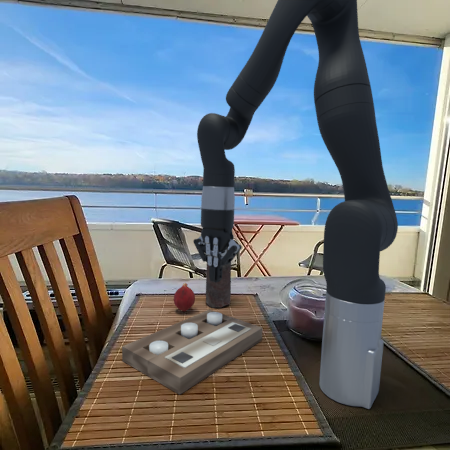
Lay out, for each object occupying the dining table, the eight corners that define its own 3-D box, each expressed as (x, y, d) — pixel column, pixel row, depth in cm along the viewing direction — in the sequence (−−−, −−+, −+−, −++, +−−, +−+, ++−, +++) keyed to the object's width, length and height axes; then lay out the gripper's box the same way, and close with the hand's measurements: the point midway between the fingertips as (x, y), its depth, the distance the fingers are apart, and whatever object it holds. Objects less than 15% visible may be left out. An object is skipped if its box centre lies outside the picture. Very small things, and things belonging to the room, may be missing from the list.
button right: (225, 324, 78) (225, 314, 78) (215, 329, 75) (215, 319, 75) (213, 320, 80) (213, 310, 80) (203, 325, 77) (203, 314, 77)
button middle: (200, 336, 71) (201, 325, 71) (189, 342, 68) (189, 331, 68) (189, 331, 73) (189, 321, 73) (177, 337, 71) (177, 326, 70)
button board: (261, 340, 75) (262, 326, 75) (179, 394, 55) (180, 376, 54) (208, 320, 85) (209, 308, 84) (122, 360, 64) (122, 344, 64)
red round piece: (190, 316, 87) (191, 287, 86) (170, 314, 88) (170, 285, 87) (197, 309, 92) (197, 281, 91) (177, 306, 94) (178, 279, 93)
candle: (202, 300, 100) (204, 235, 97) (225, 298, 102) (228, 234, 99) (209, 309, 92) (211, 239, 90) (233, 307, 94) (236, 239, 92)
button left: (171, 356, 65) (172, 344, 64) (157, 364, 62) (157, 351, 62) (159, 350, 67) (159, 338, 67) (145, 357, 64) (145, 345, 64)
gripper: (251, 208, 73) (248, 283, 75) (206, 204, 81) (204, 272, 83) (231, 209, 67) (228, 291, 69) (185, 205, 75) (183, 278, 77)
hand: (215, 281), depth 76 cm, fingers closed
